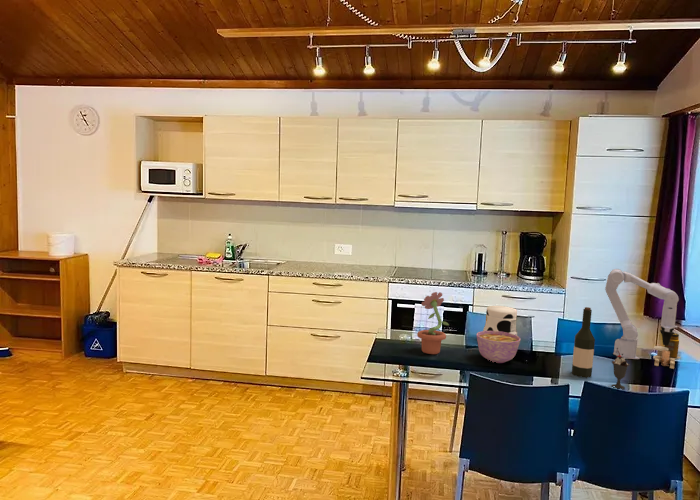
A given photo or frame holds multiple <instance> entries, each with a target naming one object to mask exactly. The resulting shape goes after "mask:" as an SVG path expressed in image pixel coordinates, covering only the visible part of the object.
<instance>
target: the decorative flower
mask: <svg viewBox="0 0 700 500" xmlns="http://www.w3.org/2000/svg"><path fill="white" fill-rule="evenodd" d="M442 296H443V293H442V292H437V291H435V292H432V293H430V295H426V296H425V297H424V299H423V301H422V302H421V306H422V307H424V308H425V309H426V310H431V309H433V313H430V315H429V316H428V317H427V318H428V319H431V318H434V316H435V317H436V319H437V325H436V326H432V327H430V328H429V329H423V330H419V331H417V334H416V335H417V337H418V338H420V341H421V351H422V352H423V353H424V354H427V355H428V354H429V355H438V354H439V353H441V347H442V341H444V340H446V339H447V334H446V333H445V332H443V331H442V330H441V331H440V330H439V329H441V327H442V325H444V326H449V325H450V324H449V323H448V322H447V321H443V320H442V318H441V315H440V313H439V310H438V307H440V306H441V305H442V304H443V302H444V301H445V299H444V297H442ZM441 297H442V298H441Z"/></svg>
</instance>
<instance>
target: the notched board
mask: <svg viewBox="0 0 700 500" xmlns="http://www.w3.org/2000/svg"><path fill="white" fill-rule="evenodd" d="M655 356H656V357H655V359H654V365H653V366H656V367H659V364H660V363H661V361H662V356H657V354H656V355H655ZM675 361H676V359H675V358H669V369H673V370H674V369H675V364H676V363H675Z"/></svg>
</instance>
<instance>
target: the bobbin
mask: <svg viewBox="0 0 700 500" xmlns="http://www.w3.org/2000/svg"><path fill="white" fill-rule="evenodd" d="M654 350H656V351H657V354H656V355H657V356H662V352H663V350H667V351H668V348H666V347H664V346H661V345H654ZM656 355H653V357H652V359H654V360H655V357H656Z"/></svg>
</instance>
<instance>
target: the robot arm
mask: <svg viewBox="0 0 700 500" xmlns="http://www.w3.org/2000/svg"><path fill="white" fill-rule="evenodd" d="M623 282H624V283H632V284H634V285H636V286H639V287H640V288H642V289H643V288H644V289H646V290H647V291H646V292H647V294H650V295H652V296H653V297H656V298H658V299H660V300H663V305H662V313H661V322H660V329H659V331H660V335H661V339H662V345H663V346H665V345H667V346H668V345H669V342H670V339H671V337H672V335H673V334H674V333H675V332H674V330H675V329H678V325H676V319H677V309H678V308H677V307H678V306H677V305H678V302H679V300H680V298H679V296H678V294H677V293H676V292H675V291H674V290H671V288H666V287H664V286H662V285H661V284H660V283H659V282H657V283H656V282H651V283H649V282H647V281H646V280H644V279H642V278H640V277H638V276H637V275H634V274H632V273H630V272H627V271H625V270H621V269H619V268H614V269H612V270H610V272H609V274H608V276H607V279H606V284H605V288H604V290H605V292H606V296H607V297H608V299H609V302H610V303H611V306H612V308H613V310H614V312H615V314H616V317H617V319H618V320H619V323H620V326H621V328H622V336H621V337H620V338H617V339H615V341H614V349H613V353H612V354H613V355H614V356H616V357H617V356H619V353H620V355H621V357H623V358H624V359H625V360H640V357H638V356H637V349H638V340H639V339H638V336H639V334H638V329H637V327H636V326H635V325H634V324H633V323H632V322H631V319H630V317H629V315H628V313H627V311H626V309H625V307H624V304H623V302H622V299H621V297H620V296H619V294H618V291H617V290H618V287H619V286H620V285H621V284H622V283H623ZM617 350H618V351H619V352H618V351H617Z"/></svg>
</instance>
